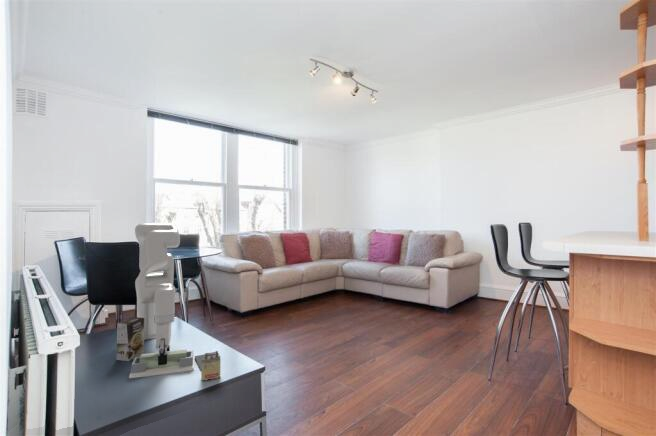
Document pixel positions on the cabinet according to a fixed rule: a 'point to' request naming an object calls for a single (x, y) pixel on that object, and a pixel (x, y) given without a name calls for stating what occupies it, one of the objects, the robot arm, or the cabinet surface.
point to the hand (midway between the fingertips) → (164, 359)
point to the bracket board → (141, 371)
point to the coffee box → (130, 338)
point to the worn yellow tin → (210, 366)
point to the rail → (172, 359)
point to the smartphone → (199, 361)
